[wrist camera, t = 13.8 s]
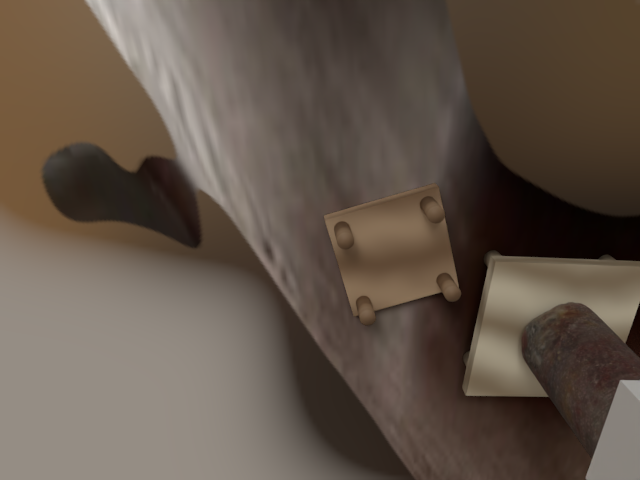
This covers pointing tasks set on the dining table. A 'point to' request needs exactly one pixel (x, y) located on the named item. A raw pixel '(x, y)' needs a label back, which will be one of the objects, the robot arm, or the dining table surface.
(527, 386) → the small wooden stool
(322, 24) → the dining table surface
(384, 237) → the upturned stool decor
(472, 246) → the dining table surface
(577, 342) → the brown wooden log
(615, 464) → the robot arm
